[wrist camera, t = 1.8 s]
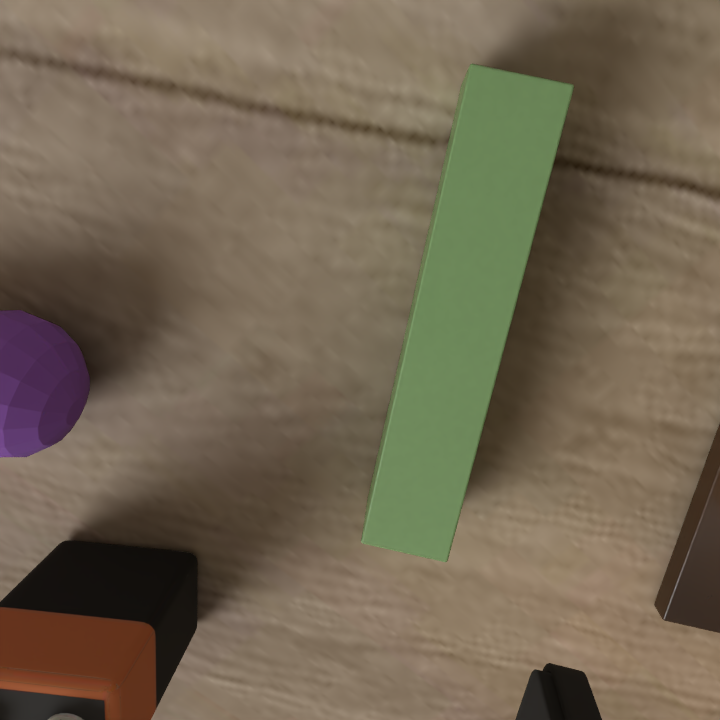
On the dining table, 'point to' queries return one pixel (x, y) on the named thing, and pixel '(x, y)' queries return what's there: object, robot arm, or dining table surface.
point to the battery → (96, 632)
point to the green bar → (463, 305)
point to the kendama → (38, 383)
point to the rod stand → (697, 556)
